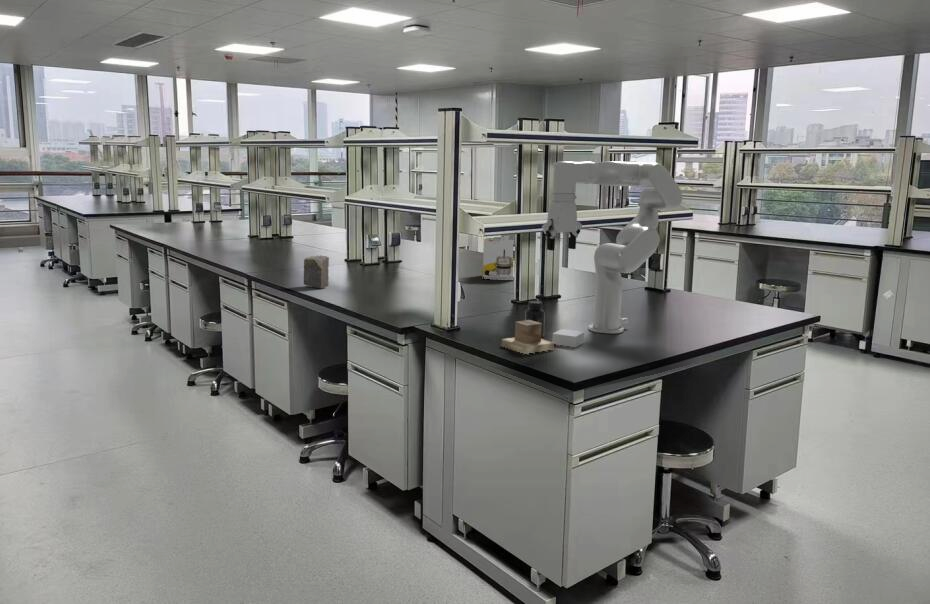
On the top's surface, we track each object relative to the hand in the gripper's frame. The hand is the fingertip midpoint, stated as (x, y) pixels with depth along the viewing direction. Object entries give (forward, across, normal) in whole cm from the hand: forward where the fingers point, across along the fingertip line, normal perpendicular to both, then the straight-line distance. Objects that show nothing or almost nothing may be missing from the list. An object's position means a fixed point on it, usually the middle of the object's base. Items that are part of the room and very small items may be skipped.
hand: (561, 249), depth 240 cm
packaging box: (+31, -62, -115) cm, 134 cm away
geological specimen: (+31, +34, -130) cm, 138 cm away
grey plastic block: (+31, +4, +10) cm, 32 cm away
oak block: (+31, +20, +8) cm, 38 cm away
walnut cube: (+28, +20, +8) cm, 35 cm away
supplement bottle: (+31, +7, -4) cm, 32 cm away
